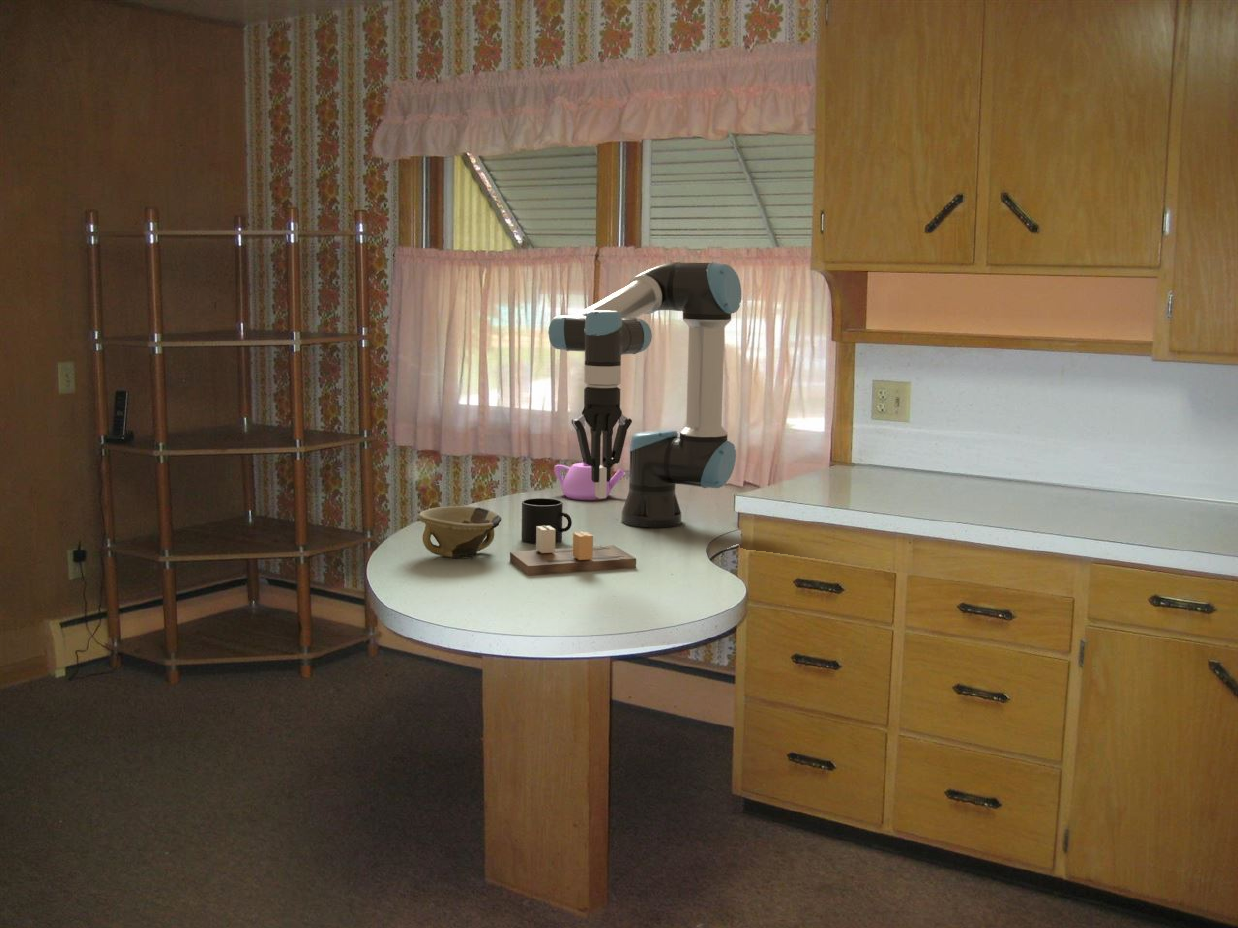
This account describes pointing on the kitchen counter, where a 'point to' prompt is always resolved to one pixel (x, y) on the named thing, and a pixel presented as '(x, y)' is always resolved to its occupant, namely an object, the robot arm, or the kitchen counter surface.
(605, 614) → the kitchen counter surface
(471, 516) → the bowl
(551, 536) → the cream fader knob
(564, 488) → the teapot
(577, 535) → the orange fader knob
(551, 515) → the mug
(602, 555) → the console board
